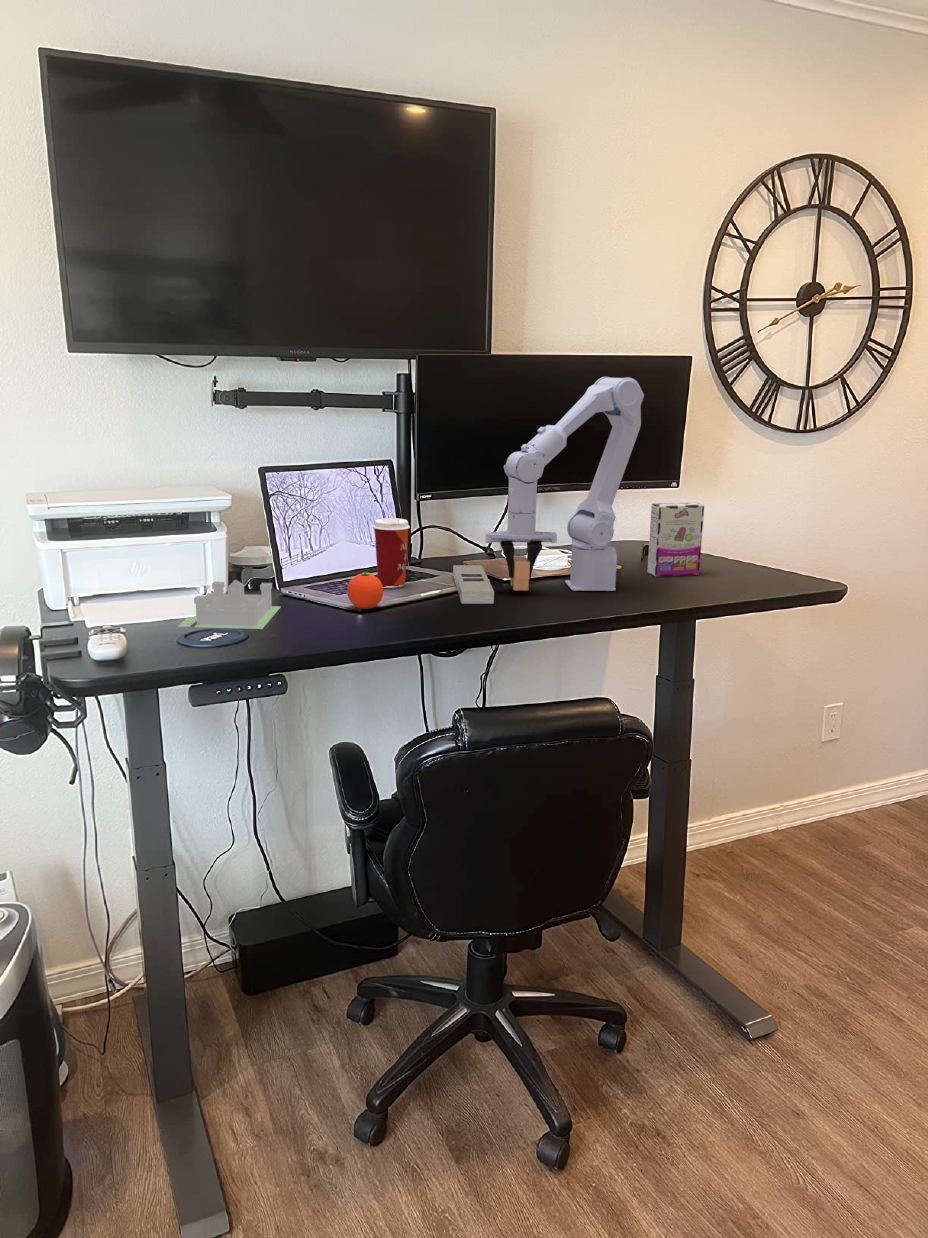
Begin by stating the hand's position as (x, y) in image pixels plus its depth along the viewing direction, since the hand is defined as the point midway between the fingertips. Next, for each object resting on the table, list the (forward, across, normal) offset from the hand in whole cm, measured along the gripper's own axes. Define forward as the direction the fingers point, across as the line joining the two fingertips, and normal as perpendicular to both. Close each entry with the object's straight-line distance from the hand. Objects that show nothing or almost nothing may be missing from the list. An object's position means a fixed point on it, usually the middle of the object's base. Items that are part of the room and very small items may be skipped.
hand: (519, 576), depth 186 cm
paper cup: (+3, +27, -6) cm, 27 cm away
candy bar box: (+4, -38, -18) cm, 43 cm away
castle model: (+4, +56, +18) cm, 59 cm away
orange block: (+2, 0, 0) cm, 2 cm away
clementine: (+3, +32, +12) cm, 34 cm away
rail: (+3, +10, -3) cm, 11 cm away
